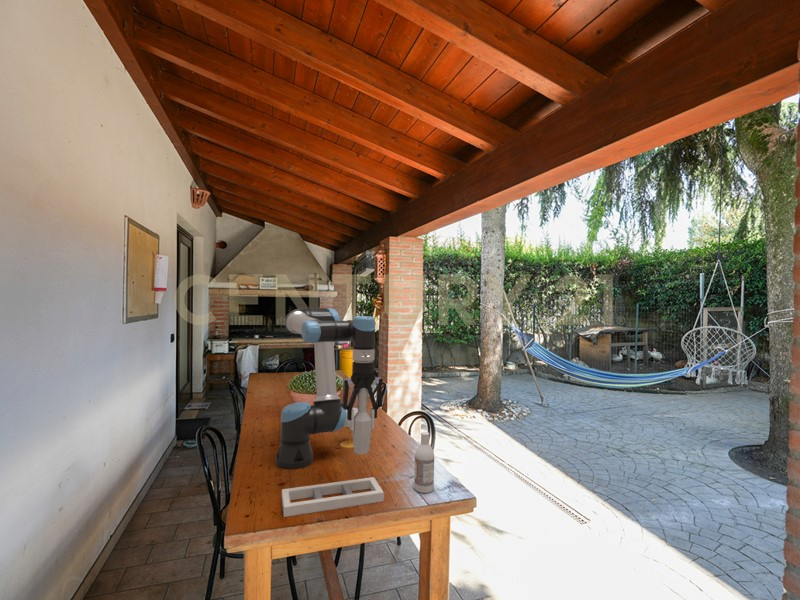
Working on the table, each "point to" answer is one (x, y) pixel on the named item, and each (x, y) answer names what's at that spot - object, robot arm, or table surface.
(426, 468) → the bath foam
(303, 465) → the robot arm
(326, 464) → the table surface
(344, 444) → the cup
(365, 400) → the low poly bottle
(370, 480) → the white rectangular compartment rack
